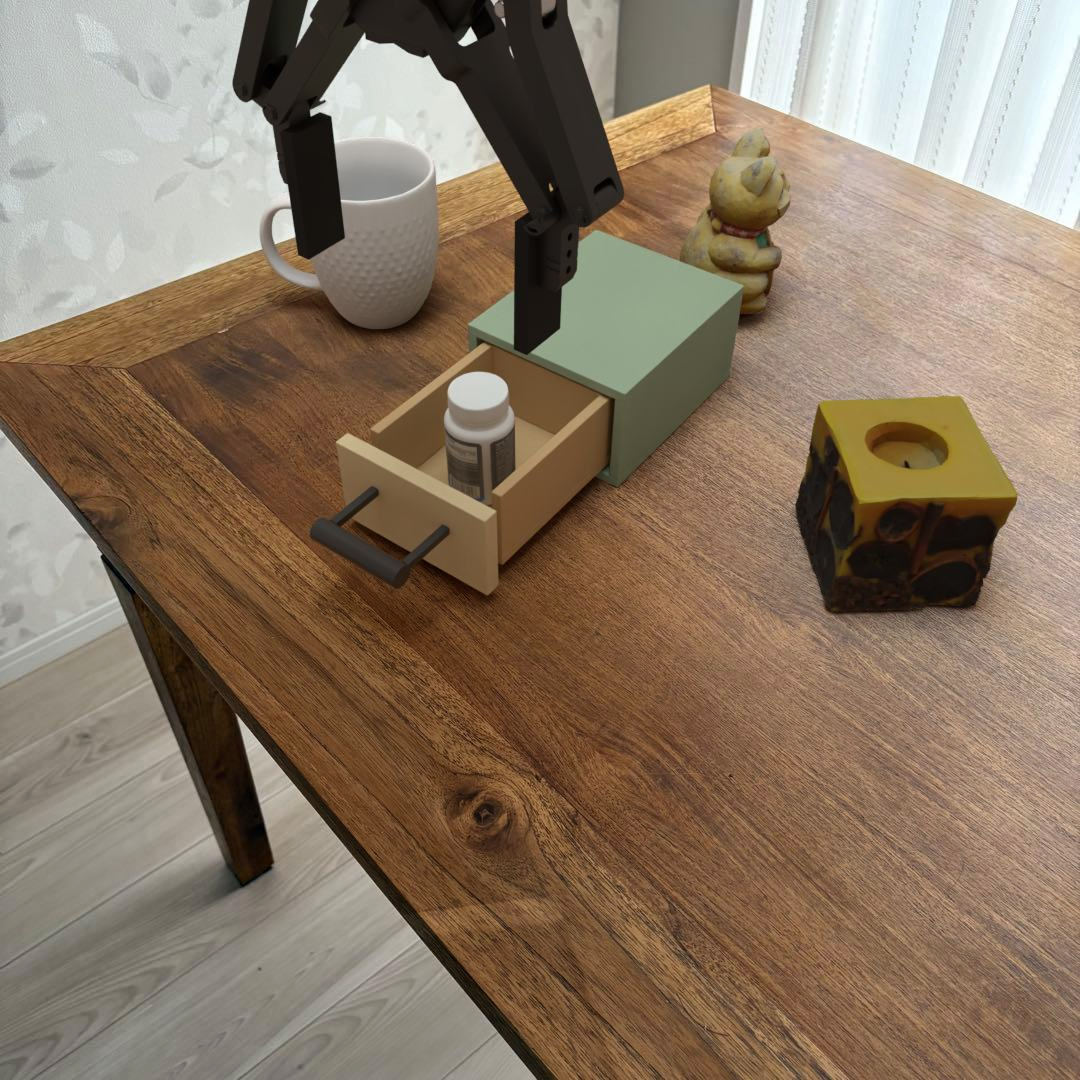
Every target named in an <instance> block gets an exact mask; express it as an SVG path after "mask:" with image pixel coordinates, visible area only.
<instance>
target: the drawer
mask: <svg viewBox="0 0 1080 1080" xmlns="http://www.w3.org/2000/svg"><path fill="white" fill-rule="evenodd" d="M471 372H486V373H491V374H495V375H497V376H499V377H500V378H502V379H503V380H504V381H505V383H506V384H507V386H508V391H509V405H510V407H511V408H512V410H513V413H514V417H515V463H516V470H515V471H514V472H513V473H512V474H511V475H510V476H509V477H507V478H506V479H505V480H504V481H503V482H502V483H501V484H500V485H498V486H497V487H496V488H495V489H494V490H493V491H492V492H491V493H492V504H491V505H484V504H482V503H480V502H478V501H477V500H475V499H473V498H471V497H469V496H467V495H465V494H463V493H461V492H459V491H457V490H456V489H454V488H452V487H450V486H449V482H448V469H447V457H446V444H445V432H444V416H445V412H446V410H447V408H448V395H447V392H448V388H449V385H450V384H451V382H452V381H453V380H454V379H456V378H457V377H459V376H461V375H464V374H467V373H471ZM614 407H615V399H614V398H612V397H609V396H607V395H605V394H603V393H600V392H598V391H596V390H594V389H592V388H589V387H587V386H585V385H583V384H580V383H578V382H576V381H574V380H572V379H569V378H567V377H565V376H563V375H560V374H558V373H556V372H554V371H551V370H549V369H547V368H545V367H543V366H540V365H538V364H536V363H534V362H531V361H529V360H527V359H525V358H523V357H520V356H518V355H516V354H514V353H511V352H509V351H507V350H505V349H502V348H500V347H498V346H496V345H494V344H491V343H489V342H487V341H484V342H483V343H482V344H481V345H479V346H478V347H477V348H475V349H474V350H473V351H471V352H470V353H469V352H468V354H466V355H464V356H463V357H462V358H461V359H459V360H458V361H456V363H454V364H453V365H452V366H450V367H449V368H448V369H447V370H445V371H444V372H443V373H441V374H439V375H438V376H437V377H436V378H434V379H433V380H432V381H431V382H430V383H428V384H427V385H426V386H424V387H423V388H421V389H420V390H418V391H417V392H416V393H415V394H414V395H412V396H411V397H409V398H408V399H407V400H406V401H404V402H403V403H401V405H398V407H396V408H395V409H394V410H393V411H392V412H391V411H390V413H389V414H387V415H386V416H385V417H383V418H382V419H381V420H380V421H378V422H377V423H375V424H374V425H373V426H372V427H370V429H369V432H370V440H371V444H370V443H368V442H366V441H364V440H362V439H361V438H359V437H357V436H355V435H353V434H350V433H349V432H347V433H346V434H344V435H343V436H342V437H340V438H338V440H336V441H335V447H336V448H335V449H336V454H337V460H338V467H339V472H340V480H341V486H342V491H343V498H344V504H345V507H343V508H342V509H341V510H340V511H338V512H337V513H336V514H335V515H334V516H332V517H331V518H330V519H329V518H326V517H320V518H317V519H316V520H315V521H314V522H313V524H312V525H311V528H310V530H309V537H310V539H311V541H314V542H315V543H316V544H319V545H320V546H322V547H324V548H325V549H327V550H329V551H331V552H332V553H334V554H336V555H337V556H339V557H341V558H342V559H344V560H346V561H347V562H349V563H351V564H353V565H354V566H356V567H358V568H359V569H361V570H363V571H365V573H368V574H369V575H371V576H373V577H375V579H377V580H380V581H382V582H383V583H384V584H387V585H388V586H390V587H391V588H393V589H396V590H397V589H400V588H402V587H404V585H406V583H407V582H408V580H409V578H410V576H411V569H413V568H414V567H415V566H416V565H418V563H419V562H421V561H422V560H424V561H426V562H427V563H429V564H431V565H433V566H434V567H436V568H438V569H440V570H441V571H443V572H445V573H446V574H448V575H450V576H452V577H453V578H455V579H457V580H458V581H461V582H462V583H464V584H466V585H468V586H469V587H471V588H472V589H474V590H476V591H478V592H480V593H482V594H484V595H486V596H489V595H490V594H491V593H492V592H493V591H494V590H495V589H496V588H498V587H499V565H504V564H505V563H506V562H507V561H509V559H511V558H512V557H513V556H514V555H515V554H516V552H518V551H519V550H520V549H521V548H522V547H523V546H524V545H525V544H526V543H527V542H529V541H530V539H531V538H533V536H535V534H537V533H538V532H539V531H540V530H541V529H542V528H543V527H545V525H546V524H547V523H548V522H549V521H550V520H551V519H552V518H553V517H554V516H555V515H556V514H557V513H558V512H560V510H561V509H563V508H564V506H566V504H568V503H569V502H570V501H571V500H572V499H573V498H574V497H575V496H576V495H577V494H578V493H579V492H580V491H581V490H582V489H583V488H584V487H585V486H587V484H589V483H590V482H591V481H592V479H594V478H596V477H595V476H596V475H597V474H598V473H599V472H600V471H601V470H602V469H603V468H604V467H605V466H606V465H607V464H608V463H609V462H610V459H611V447H612V434H613V420H614ZM351 519H352V520H353V521H355V522H357V523H359V524H360V525H362V526H363V527H366V528H367V529H369V530H371V531H372V532H374V533H376V534H378V535H379V536H381V537H383V538H385V539H387V540H389V541H390V542H392V543H393V544H396V545H397V546H399V547H401V548H403V549H405V551H408V552H409V553H408V554H407V555H406V556H405V557H403V559H401V560H400V559H397V558H396V557H394V556H393V555H391V554H389V553H387V552H385V551H384V550H382V549H381V548H378V547H376V546H375V545H373V544H372V543H370V542H368V541H366V540H365V539H363V538H361V537H360V536H357V535H356V534H355V533H352V532H351V531H349V530H347V529H346V528H343V527H342V526H344V525H345V524H346V523H347V522H349V521H350V520H351Z"/></svg>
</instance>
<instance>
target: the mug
mask: <svg viewBox="0 0 1080 1080" xmlns="http://www.w3.org/2000/svg"><path fill="white" fill-rule="evenodd" d="M334 143H335V152H336V161H337V170H338V179H339V188H340V197H341V206H342V215H343V224H344V233H345V238H344V239H343V240H341V241H339V242H338V243H336V244H334V245H333V246H331V247H329V248H328V249H326V250H325V251H323V252H321V253H320V254H318V255H316V256H315V257H313V258H311V259H310V261H311V262H310V263H311V264H312V266H313V270H314V273H309V272H305V271H301V270H299V269H297V268H295V267H293V266H292V265H290V264H288V262H287V261H286V260H285V259H284V258H283V257H282V255H281V254H280V253H279V251H278V249H277V246H276V244H275V240H274V238H273V221H274V217H275V216H276V214H277V213H278V212H280V211H282V210H291V204H290V197H289V190H288V191H284V192H282V193H279V194H277V195H276V196H275V197H273V198H272V199H271V200H270V201H269V202H268V204H267V205H266V207H265V209H264V211H263V213H262V215H261V218H260V222H259V232H258V233H259V242H260V247H261V249H262V252H263V255H264V258H265V260H266V261H267V263H268V266H270V268H271V269H272V270H273V272H275V273H276V275H277V276H279V277H280V278H282V279H283V280H285V281H286V282H288V283H290V284H292V285H295V286H298V287H301V288H304V289H309V290H315V291H320V292H324V294H325V296H326V297H327V299H328V301H329V303H330V304H331V305H332V306H333V308H334V309H335V310H336V311H337V312H338V313H339V314H340V315H341V316H342V318H344V319H345V320H346V321H348V322H349V323H351V324H353V325H354V326H357V327H359V328H363V329H364V328H365V329H367V330H368V329H369V330H388V329H392V328H395V327H399V326H401V325H403V324H405V323H407V322H409V321H410V320H411V319H412V318H414V317H415V316H416V315H417V313H418V312H419V311H420V309H421V308H422V306H423V305H424V303H425V301H426V299H427V298H428V297H429V292H430V290H431V289H432V284H433V280H434V277H435V275H436V267H437V264H438V263H437V262H438V256H439V242H440V237H439V234H440V233H439V231H440V228H439V226H440V223H439V206H438V205H439V204H438V199H439V198H438V188H437V175H436V174H437V172H436V165H435V161H434V159H433V158H432V156H431V155H430V154H429V152H428V151H426V150H425V149H424V148H422V147H421V146H419V145H417V144H415V143H413V142H410V141H407V140H404V139H400V138H394V137H388V136H373V135H368V136H364V135H363V136H352V137H347V138H342V139H338V140H334Z"/></svg>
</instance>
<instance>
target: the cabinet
mask: <svg viewBox="0 0 1080 1080" xmlns="http://www.w3.org/2000/svg"><path fill="white" fill-rule="evenodd" d="M577 251H578V258H577V259H578V261H577V271H576V273H575V275H574V277H573V279H572V280H570V281H569V282H568V283H566V284H565V285H564V286H562V300H561V323H560V329H559V330H558V331H557V332H555V333H554V334H553V335H552V336H550V337H549V338H548V339H547V340H545V341H544V342H543V343H542V344H540V345H539V346H538V347H537V348H536V349H534V350H533V351H532V352H531V353H529V354H528V355H525V354H523V353H520V352H518V351H516V350H514V289H513V290H512V291H510V292H509V293H508V294H506V295H505V296H504V297H502V298H501V299H500V300H498V301H497V302H496V303H494V304H493V305H492V306H490V307H489V308H488V309H486V310H485V311H483V312H482V313H480V315H478V316H477V317H475V318H474V319H473V320H471V321H470V322H468V323H467V338H468V339H467V340H468V343H467V344H468V354H469V353H470V352H471V351H473V350H474V349H475V348H477V347H478V346H479V345H481V344H482V343H483V342H484V341H487V342H489V343H491V344H494V345H496V346H498V347H500V348H502V349H505V350H507V351H509V352H511V353H514V354H516V355H518V356H520V357H523V358H525V359H527V360H529V361H531V362H534V363H536V364H538V365H540V366H543V367H545V368H547V369H549V370H551V371H554V372H556V373H558V374H560V375H563V376H565V377H567V378H569V379H572V380H574V381H576V382H578V383H580V384H583V385H585V386H587V387H589V388H592V389H594V390H596V391H598V392H600V393H603V394H605V395H607V396H609V397H612V398H614V399H615V407H614V420H613V434H612V447H611V459H610V462H609V463H608V464H607V465H606V466H605V467H604V468H603V469H602V470H601V471H600V472H599V473H598V474H597V475H596V476H595V477H594V478H597V479H599V480H601V481H603V482H605V483H607V484H610V485H611V486H614V487H616V488H618V487H620V486H621V484H622V483H624V482H625V480H627V478H629V477H630V476H631V475H632V474H633V473H634V472H635V471H636V470H637V469H638V468H639V467H640V466H641V465H642V464H643V462H645V461H646V460H647V459H648V458H649V457H650V456H651V455H652V454H653V453H654V452H655V451H656V450H657V449H658V448H659V447H660V446H661V445H662V444H663V443H664V442H665V441H666V440H667V439H668V438H669V437H670V436H671V435H672V434H673V433H674V432H675V431H676V430H677V429H678V428H679V427H680V426H681V425H682V424H683V423H684V422H685V421H686V420H687V419H688V418H689V417H690V416H691V415H692V414H693V413H695V411H696V410H697V409H698V408H699V407H700V406H701V405H702V404H703V403H704V402H705V401H706V400H707V399H708V398H709V397H710V396H711V395H712V394H713V393H714V392H715V391H716V390H718V388H719V387H720V386H722V384H724V383H725V381H727V379H728V378H730V375H731V369H732V362H733V356H734V351H735V343H736V338H737V332H738V326H739V319H740V315H741V314H740V308H741V302H742V296H743V290H744V285H741V284H739V283H736V282H733V281H731V280H728V279H726V278H723V277H720V276H718V275H715V274H712V273H710V272H707V271H704V270H702V269H699V268H696V267H694V266H691V265H688V264H686V263H683V262H681V261H680V260H678V259H675V258H672V257H670V256H667V255H664V254H662V253H659V252H657V251H654V250H651V249H648V248H646V247H643V246H641V245H638V244H636V243H632V242H630V241H628V240H625V239H622V238H619V237H618V236H614V235H611V234H609V233H606V232H604V231H601V230H598V229H595V230H593V231H592V232H590V233H589V234H587V236H585V237H584V238H582V239H581V240H579V242H578V250H577Z"/></svg>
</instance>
